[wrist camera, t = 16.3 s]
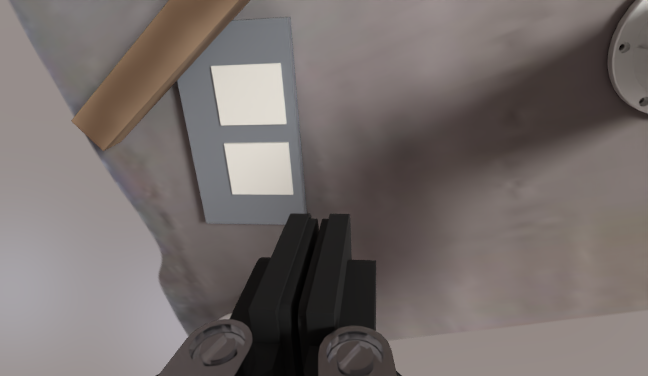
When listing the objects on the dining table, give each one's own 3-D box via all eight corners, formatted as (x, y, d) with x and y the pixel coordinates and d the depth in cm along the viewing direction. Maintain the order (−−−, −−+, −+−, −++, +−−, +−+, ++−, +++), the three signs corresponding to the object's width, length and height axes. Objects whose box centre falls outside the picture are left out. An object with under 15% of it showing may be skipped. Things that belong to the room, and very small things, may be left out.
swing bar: (275, -28, 34) (265, -31, 31) (121, 141, 42) (103, 151, 40) (242, -68, 33) (229, -75, 30) (91, 113, 41) (71, 120, 39)
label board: (290, 16, 38) (286, 17, 36) (307, 218, 47) (304, 226, 45) (173, 24, 40) (164, 24, 38) (211, 217, 49) (205, 224, 47)
